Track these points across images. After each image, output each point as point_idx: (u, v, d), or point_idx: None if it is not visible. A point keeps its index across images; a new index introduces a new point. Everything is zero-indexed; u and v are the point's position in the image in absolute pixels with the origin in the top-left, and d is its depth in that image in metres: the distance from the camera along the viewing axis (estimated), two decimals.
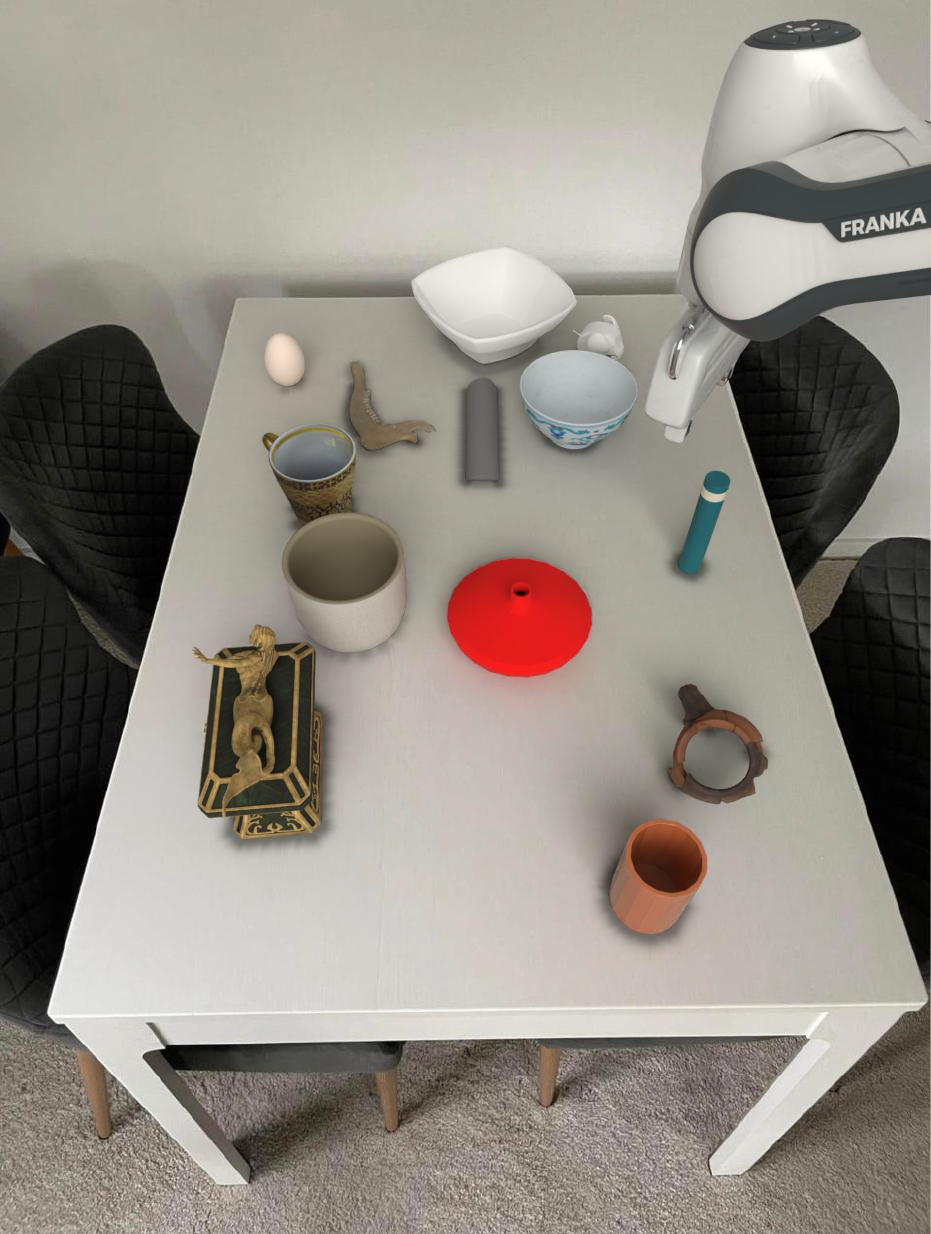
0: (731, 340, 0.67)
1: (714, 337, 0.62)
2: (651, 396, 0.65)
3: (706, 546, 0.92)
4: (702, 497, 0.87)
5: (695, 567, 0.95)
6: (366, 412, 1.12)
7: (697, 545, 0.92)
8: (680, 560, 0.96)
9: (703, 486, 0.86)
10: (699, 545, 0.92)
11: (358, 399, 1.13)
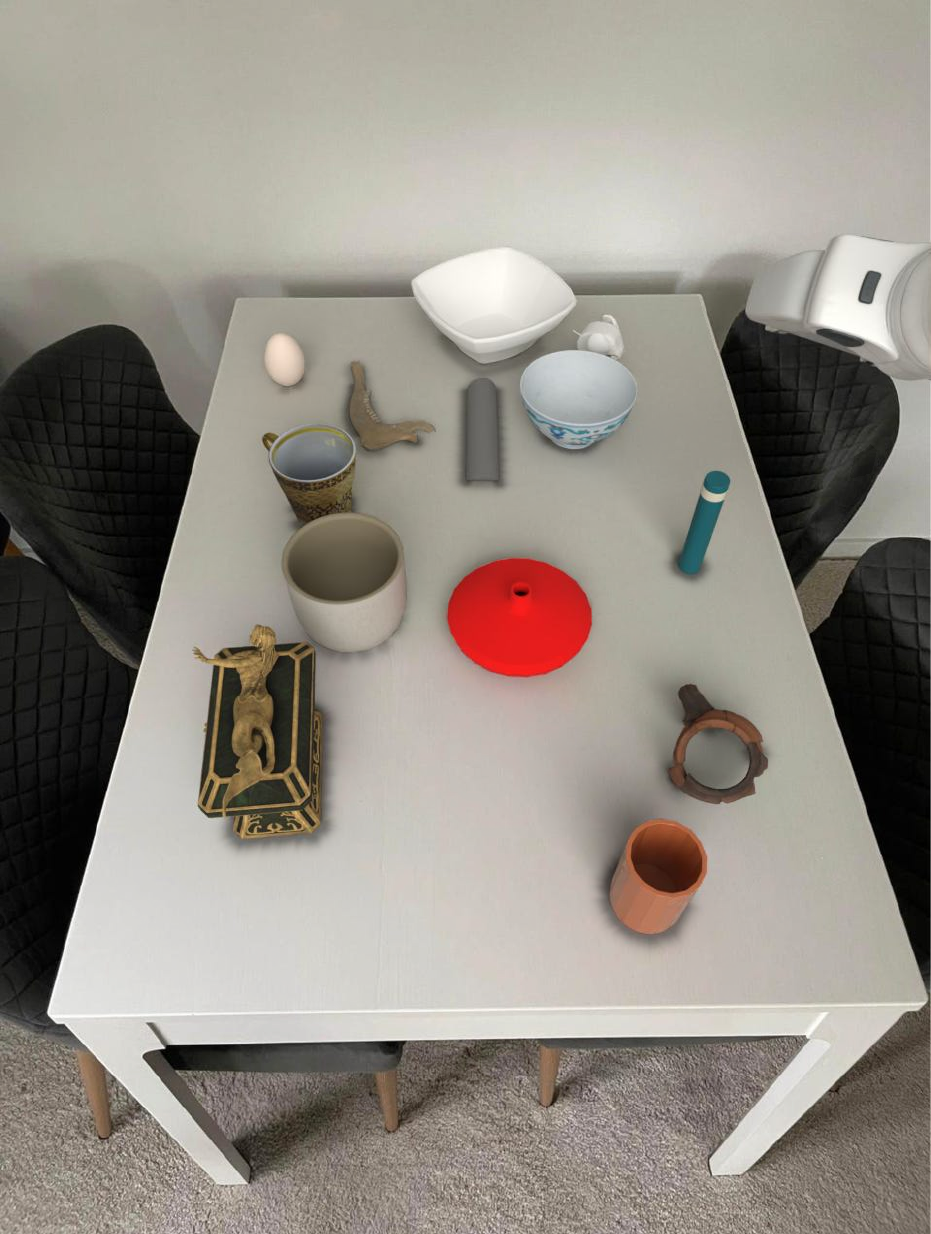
0: None
1: None
2: None
3: (706, 546, 0.92)
4: (702, 497, 0.87)
5: (695, 567, 0.95)
6: (366, 412, 1.12)
7: (697, 545, 0.92)
8: (680, 560, 0.96)
9: (703, 486, 0.86)
10: (699, 545, 0.92)
11: (358, 399, 1.13)
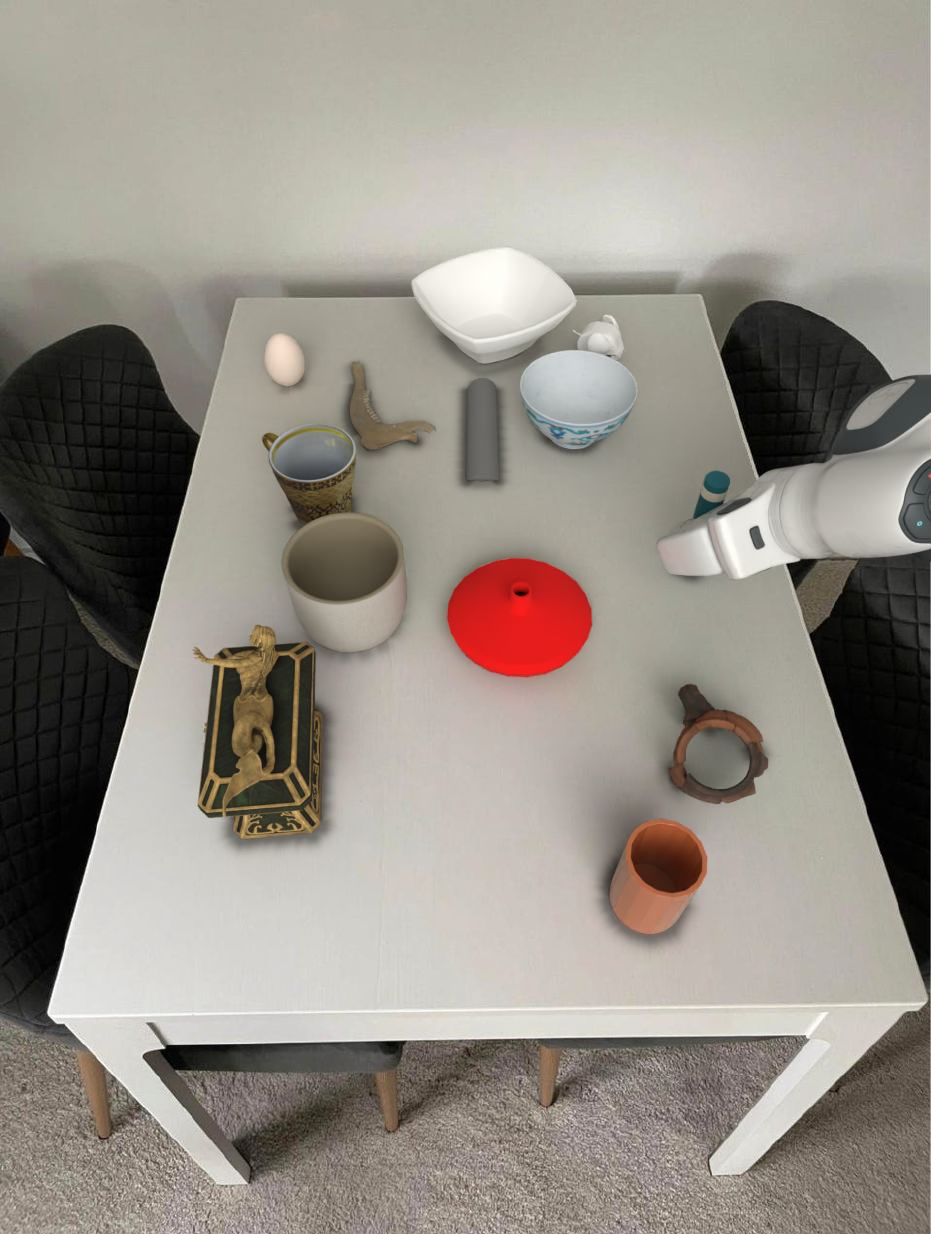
0: None
1: None
2: None
3: None
4: (702, 497, 0.87)
5: None
6: (366, 412, 1.12)
7: None
8: None
9: (703, 486, 0.86)
10: None
11: (359, 399, 1.13)
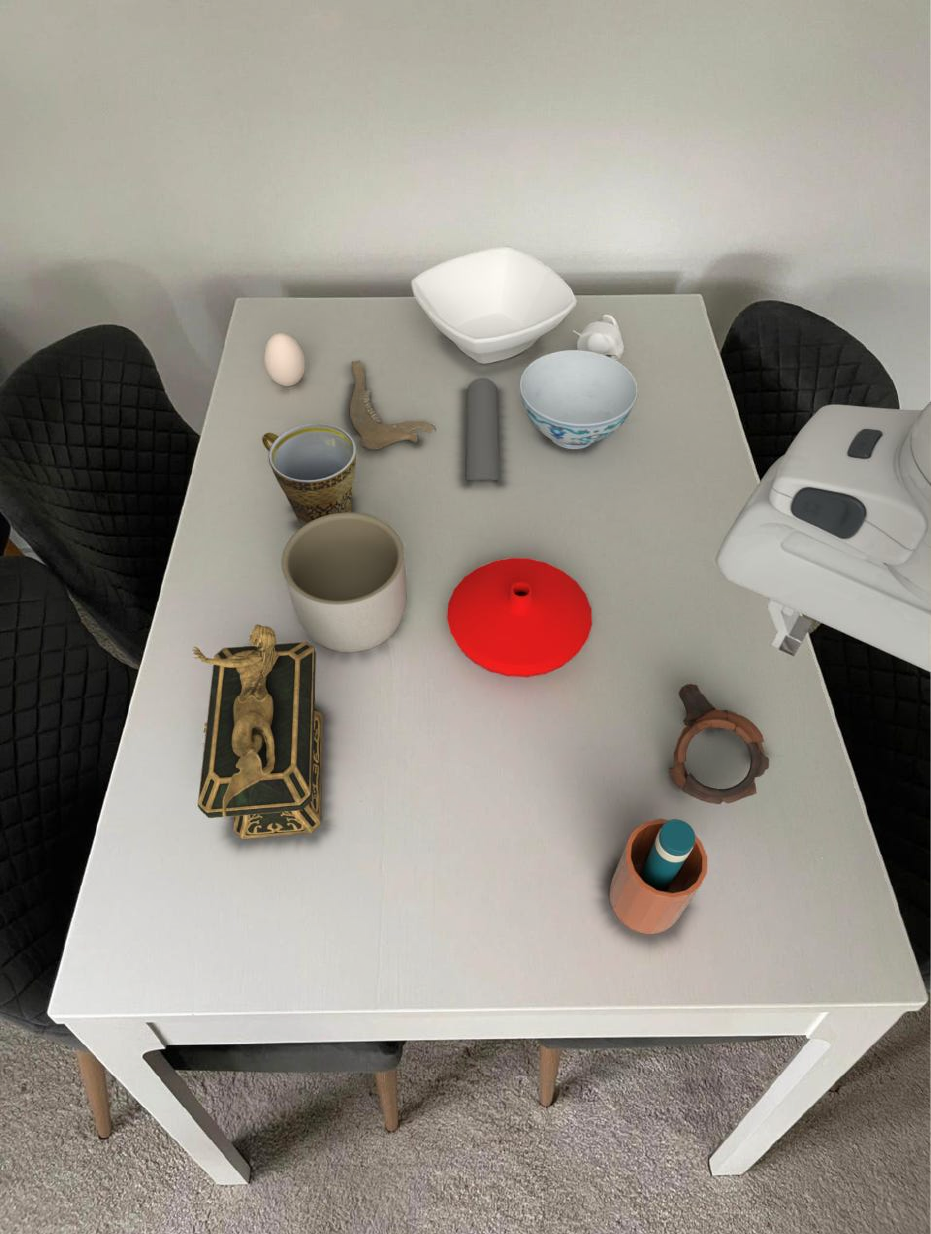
0: None
1: None
2: None
3: (666, 889, 0.69)
4: (657, 852, 0.63)
5: None
6: (367, 412, 1.12)
7: None
8: None
9: (658, 841, 0.63)
10: None
11: (359, 399, 1.13)
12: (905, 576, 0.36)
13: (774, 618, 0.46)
